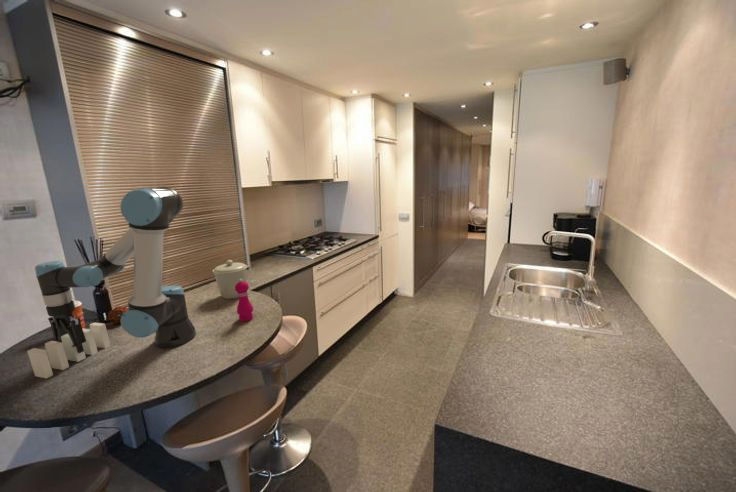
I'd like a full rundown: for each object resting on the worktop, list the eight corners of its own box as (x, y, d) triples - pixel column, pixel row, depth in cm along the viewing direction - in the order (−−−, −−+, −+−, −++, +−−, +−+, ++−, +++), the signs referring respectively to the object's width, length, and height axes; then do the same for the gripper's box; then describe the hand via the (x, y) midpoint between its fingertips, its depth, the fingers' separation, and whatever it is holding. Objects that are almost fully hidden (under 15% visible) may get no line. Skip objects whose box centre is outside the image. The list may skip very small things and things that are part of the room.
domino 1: (53, 374, 115) (46, 349, 113) (46, 378, 113) (38, 353, 111) (42, 372, 117) (34, 347, 115) (35, 376, 115) (27, 351, 113)
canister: (243, 301, 175) (238, 264, 170) (210, 302, 175) (204, 265, 170) (255, 289, 192) (251, 255, 187) (225, 290, 193) (220, 256, 188)
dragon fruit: (127, 328, 153) (114, 326, 159) (139, 312, 158) (127, 311, 164) (110, 319, 147) (98, 318, 153) (124, 303, 152) (111, 302, 158)
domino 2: (69, 366, 120) (62, 342, 118) (63, 370, 118) (55, 345, 116) (58, 364, 122) (51, 340, 120) (51, 367, 120) (44, 343, 118)
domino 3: (84, 358, 125) (77, 335, 122) (78, 361, 123) (71, 338, 120) (73, 356, 126) (66, 333, 124) (67, 359, 124) (60, 336, 122)
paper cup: (75, 336, 143) (67, 307, 140) (61, 335, 145) (53, 306, 142) (93, 328, 151) (85, 300, 147) (80, 327, 152) (72, 299, 149)
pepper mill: (234, 320, 152) (228, 280, 147) (245, 314, 158) (240, 275, 154) (246, 322, 149) (241, 282, 145) (257, 316, 156) (252, 277, 151)
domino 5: (110, 345, 134) (105, 323, 132) (105, 348, 132) (99, 326, 130) (100, 344, 136) (94, 322, 133) (95, 346, 134) (89, 324, 131)
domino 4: (98, 352, 129) (92, 329, 127) (92, 355, 127) (86, 332, 125) (87, 350, 131) (81, 327, 129) (81, 353, 129) (75, 330, 127)
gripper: (88, 300, 120) (103, 356, 125) (54, 297, 125) (69, 350, 131) (65, 309, 113) (81, 367, 118) (29, 304, 118) (47, 360, 124)
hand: (75, 358), depth 124 cm, fingers closed on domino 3, 6 cm apart
